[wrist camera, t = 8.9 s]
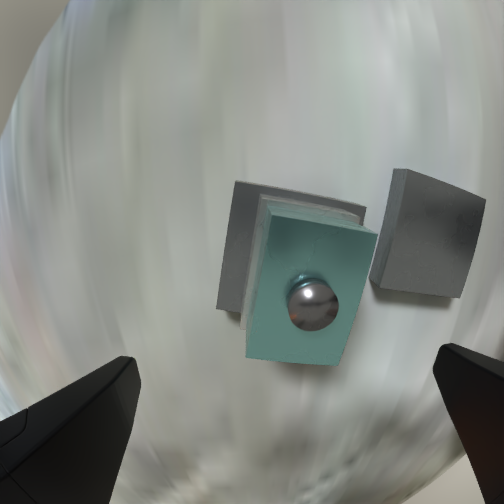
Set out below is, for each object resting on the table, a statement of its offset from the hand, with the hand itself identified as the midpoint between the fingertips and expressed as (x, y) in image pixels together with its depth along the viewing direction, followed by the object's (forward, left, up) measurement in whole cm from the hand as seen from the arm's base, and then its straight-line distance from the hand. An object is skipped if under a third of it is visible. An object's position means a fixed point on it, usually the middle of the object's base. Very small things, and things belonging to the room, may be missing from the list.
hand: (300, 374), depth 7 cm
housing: (-1, -1, -11) cm, 11 cm away
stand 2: (-7, -10, -13) cm, 17 cm away
